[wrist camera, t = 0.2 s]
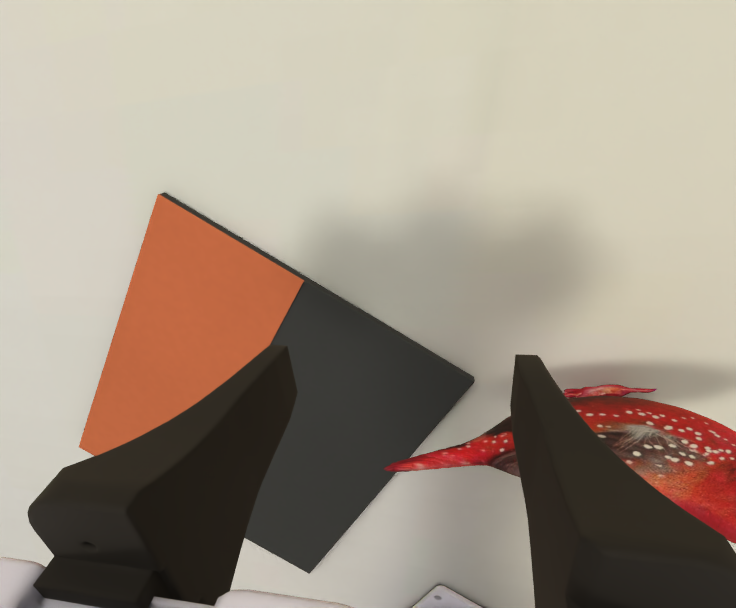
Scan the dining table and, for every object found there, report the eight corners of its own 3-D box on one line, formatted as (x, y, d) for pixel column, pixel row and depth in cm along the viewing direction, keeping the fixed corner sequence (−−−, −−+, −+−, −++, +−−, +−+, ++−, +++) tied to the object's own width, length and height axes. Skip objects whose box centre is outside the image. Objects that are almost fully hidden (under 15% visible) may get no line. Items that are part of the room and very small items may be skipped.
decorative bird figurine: (740, 405, 24) (905, 594, 15) (403, 413, 28) (373, 563, 19) (747, 357, 23) (931, 529, 14) (395, 373, 27) (360, 512, 18)
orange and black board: (474, 376, 26) (474, 382, 25) (311, 567, 36) (308, 575, 35) (164, 192, 25) (157, 194, 24) (84, 441, 35) (78, 446, 34)
